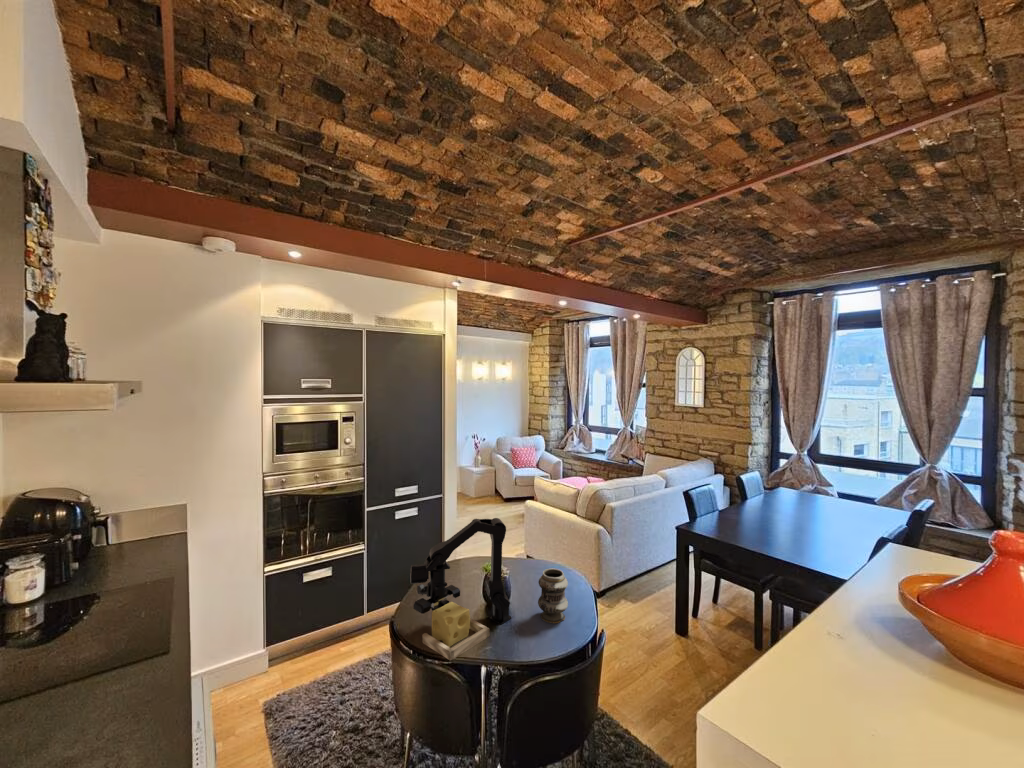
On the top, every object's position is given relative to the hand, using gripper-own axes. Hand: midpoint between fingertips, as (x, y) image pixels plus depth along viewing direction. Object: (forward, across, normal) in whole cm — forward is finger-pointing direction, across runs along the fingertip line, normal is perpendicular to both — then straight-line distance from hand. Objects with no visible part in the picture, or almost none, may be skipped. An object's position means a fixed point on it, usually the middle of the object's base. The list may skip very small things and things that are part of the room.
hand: (437, 620), depth 168 cm
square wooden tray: (+3, 0, +10) cm, 11 cm away
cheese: (+3, 0, +8) cm, 8 cm away
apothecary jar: (+3, -36, +28) cm, 46 cm away
